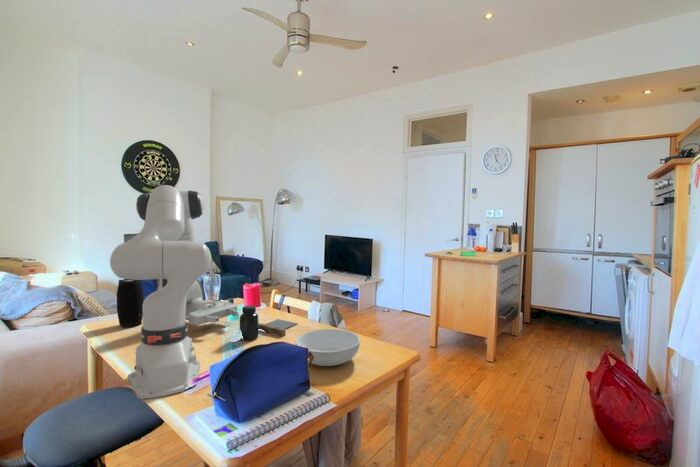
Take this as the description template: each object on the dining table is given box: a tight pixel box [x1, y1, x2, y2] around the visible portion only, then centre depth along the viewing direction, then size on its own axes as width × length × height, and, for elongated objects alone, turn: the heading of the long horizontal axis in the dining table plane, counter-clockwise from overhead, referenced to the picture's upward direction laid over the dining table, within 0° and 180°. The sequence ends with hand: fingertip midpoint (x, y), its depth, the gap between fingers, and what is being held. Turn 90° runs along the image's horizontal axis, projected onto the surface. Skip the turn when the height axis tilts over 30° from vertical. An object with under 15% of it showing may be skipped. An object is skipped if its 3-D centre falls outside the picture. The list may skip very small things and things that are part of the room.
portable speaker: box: [116, 278, 145, 329], centre depth 143 cm, size 9×9×20 cm
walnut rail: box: [258, 322, 286, 338], centre depth 137 cm, size 20×2×2 cm, turn 60°
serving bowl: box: [295, 328, 361, 367], centre depth 111 cm, size 21×21×7 cm
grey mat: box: [264, 318, 298, 331], centre depth 145 cm, size 11×11×1 cm
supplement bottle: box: [239, 305, 259, 342], centre depth 130 cm, size 7×7×12 cm
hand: (227, 316), depth 136 cm, fingers open, 8 cm apart
